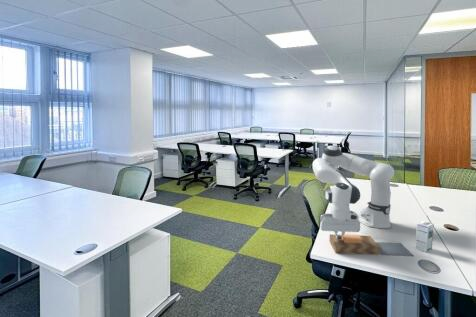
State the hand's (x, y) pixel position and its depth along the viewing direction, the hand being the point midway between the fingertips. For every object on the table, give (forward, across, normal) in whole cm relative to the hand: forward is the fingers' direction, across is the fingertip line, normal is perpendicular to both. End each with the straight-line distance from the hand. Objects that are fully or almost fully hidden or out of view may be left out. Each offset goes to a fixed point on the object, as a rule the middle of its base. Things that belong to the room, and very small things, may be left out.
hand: (339, 238), depth 153 cm
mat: (+5, +27, 0) cm, 28 cm away
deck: (+5, +8, 0) cm, 9 cm away
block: (+1, +7, 0) cm, 7 cm away
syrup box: (+5, +44, +1) cm, 44 cm away
